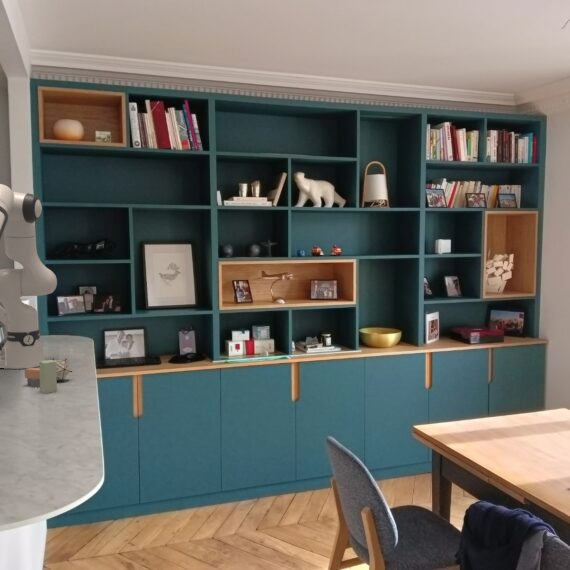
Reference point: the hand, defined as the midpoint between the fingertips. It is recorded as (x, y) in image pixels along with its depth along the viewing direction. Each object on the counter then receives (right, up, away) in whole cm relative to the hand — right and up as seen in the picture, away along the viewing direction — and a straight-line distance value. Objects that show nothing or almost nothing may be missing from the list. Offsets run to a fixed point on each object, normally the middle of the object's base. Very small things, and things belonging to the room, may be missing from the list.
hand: (4, 323), depth 183 cm
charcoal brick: (+3, -23, +15) cm, 27 cm away
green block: (+11, -23, +7) cm, 26 cm away
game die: (+8, -22, +22) cm, 32 cm away
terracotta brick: (+3, -20, +15) cm, 25 cm away
